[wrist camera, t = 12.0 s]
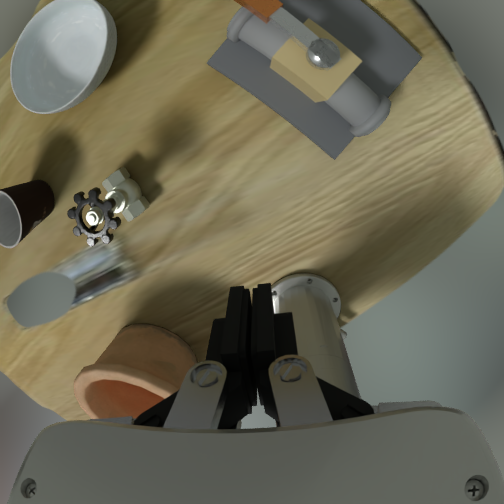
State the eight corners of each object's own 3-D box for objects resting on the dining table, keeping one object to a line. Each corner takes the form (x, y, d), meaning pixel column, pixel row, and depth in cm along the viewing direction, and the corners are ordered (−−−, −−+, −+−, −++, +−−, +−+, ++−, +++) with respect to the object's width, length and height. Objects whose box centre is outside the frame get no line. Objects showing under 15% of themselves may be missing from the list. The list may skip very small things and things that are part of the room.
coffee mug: (50, 166, 38) (9, 182, 29) (65, 217, 42) (29, 242, 33) (8, 186, 39) (-30, 204, 30) (22, 230, 43) (-12, 255, 34)
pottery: (160, 402, 60) (145, 454, 47) (84, 339, 53) (54, 390, 40) (234, 370, 54) (229, 433, 41) (149, 289, 47) (117, 350, 34)
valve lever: (341, 57, 24) (347, 54, 22) (321, 75, 25) (325, 73, 23) (239, -24, 20) (237, -32, 19) (218, -6, 21) (215, -13, 20)
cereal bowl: (147, 72, 33) (125, 65, 27) (57, 132, 36) (28, 138, 30) (110, -14, 26) (88, -29, 20) (28, 49, 29) (0, 46, 23)
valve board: (417, 59, 31) (453, 50, 22) (332, 158, 38) (352, 171, 29) (303, -34, 26) (313, -66, 17) (208, 64, 33) (193, 50, 24)
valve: (136, 158, 38) (93, 177, 27) (162, 196, 40) (129, 228, 30) (103, 184, 40) (57, 211, 29) (128, 220, 42) (90, 257, 31)
